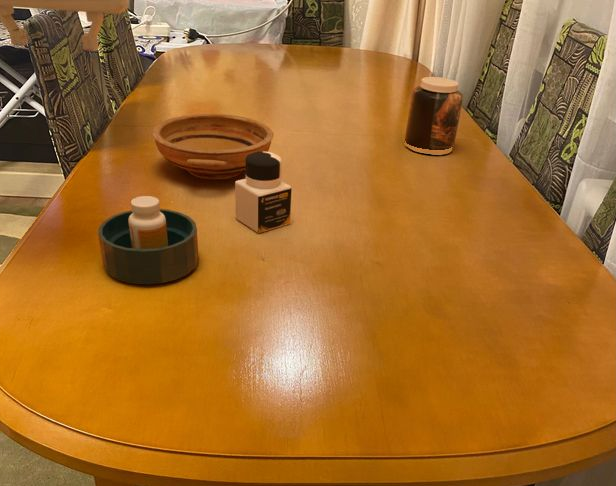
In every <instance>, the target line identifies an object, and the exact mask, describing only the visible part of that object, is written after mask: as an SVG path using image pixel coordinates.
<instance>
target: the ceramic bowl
mask: <svg viewBox="0 0 616 486" xmlns="http://www.w3.org/2000/svg"><path fill="white" fill-rule="evenodd" d="M151 136H152V138H153V139H154V142H155V146H156V148H157V150H158V152H159V153H160V154H161V155H162V157H163V158H164V159H165V160H166V161H167V162H168V163H170V164H171V165H173V166H175V167H178V168H181V169H183V170H185V171H187V172H188V173H189V174H190V175H192V176H193V177H196V178H200V179H204V180H227V179H232V178H235V177H237V176H239V175H240V174H241V173H242V172H243V171H244V170H245V171H246V157H247V156H248V155H249V154H251V153H254V152H260V151H265V152H269V151H270V148H271V144H272V140H273V139H274V132H273V130H272V129H271V128H270V127H269V126H268V125H267V124H265V123H263V122H260V121H258V120H255V119H252V118H248V117H244V116H241V115H235V114H225V113H196V114H194V113H193V114H187V115H181V116H176V117H172V118H167V119H166V120H163V121H161V122H159V123H157V124H156V125H155V126H154V127H153V128H152V130H151Z"/></svg>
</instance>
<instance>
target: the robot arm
mask: <svg viewBox="0 0 616 486" xmlns="http://www.w3.org/2000/svg"><path fill="white" fill-rule="evenodd" d="M129 4H130V0H0V22H1V23H2V25H3V26H4V27H5V29H6V30H7V31H8V34H9V39H10V43H11V45H12V46H19V47H25V46H28V44H29V39H28V37H27V35H28V34H27V29H26V28H20V26H19V24H18V23H17V22H16V20H15V19H14V17H13V14H14V13H15V9H14V8H26V9H27V8H28V9H38V10H39V9H41V10H53V11H67V12H82V13H85V15H86V21H87V22H88V23H91V24H90V27H89V30H88V32H87V33H84V34H82V35H81V36H80V37H81V43H82V50H83V51H87V52H89V51H90V52H97V51H98V50H99V40H98V34H99V33H100V32H99V31H100V30H101V28H102V25H103V22H104V14H107V15H108V14H109V15H119V14H121V13H123V12H125V11H126V10H127V8H128V6H129Z"/></svg>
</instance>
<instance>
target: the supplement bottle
mask: <svg viewBox="0 0 616 486" xmlns="http://www.w3.org/2000/svg"><path fill="white" fill-rule="evenodd" d="M130 205H131V206H130V207H131V208H130V209H131V210H132V212H133V213H132V214H131V215H130V216H129V219H128V221H129V230H130V238H131V245H132V249H156V248H162V247H166V246H168V238H167V228H166V219H165V216H164V214H163V213H161V212H160V209H161V206H160V200H159V198H157V197H155V196H150V195H142V196H141V195H140V196H136V197H134V198H132V199H131V201H130Z"/></svg>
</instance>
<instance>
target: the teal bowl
mask: <svg viewBox="0 0 616 486" xmlns="http://www.w3.org/2000/svg"><path fill="white" fill-rule="evenodd" d="M160 212H161V213H163V214H164V216H165V219H166V228H167V238H168V246H166V247H162V248H156V249H132V245H131V238H130V230H129V221H128V219H129V216H130V215H131V214H132V213H133V212H132V209H131V210H127V211H126V210H125V211H122V212H120V213H117V214H114V215H112V216H109V218H107V219H105V220H103V222H102V223H101V224H100V225H99V227H98V231H97V236H98V237H97V238H98V242H99V249H100V254H101V260H102V265H103V268H104V270H105V272H106V273H107V274H108V275H109V276H111V277H113V278H114V279H116V280H118V281H121V282H125V283H129V284H136V285H137V284H138V285H155V284H156V285H157V284H164V283H168V282H172V281H173V282H174V281H176V280H178V279H181V278H183V277H185V276H187V275H189V274H190V273H191V272H192V271H194V270H195V269H196V268H197V265H198V264H199V261H200V259H199V257H200V256H199V242H198V241H199V240H198V227H197V223H196V222H195V220H193V218H192V217H190V216H189V215H187V214H185V213H182V212H179V211H176V210H171V209H166V208H160Z"/></svg>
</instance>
